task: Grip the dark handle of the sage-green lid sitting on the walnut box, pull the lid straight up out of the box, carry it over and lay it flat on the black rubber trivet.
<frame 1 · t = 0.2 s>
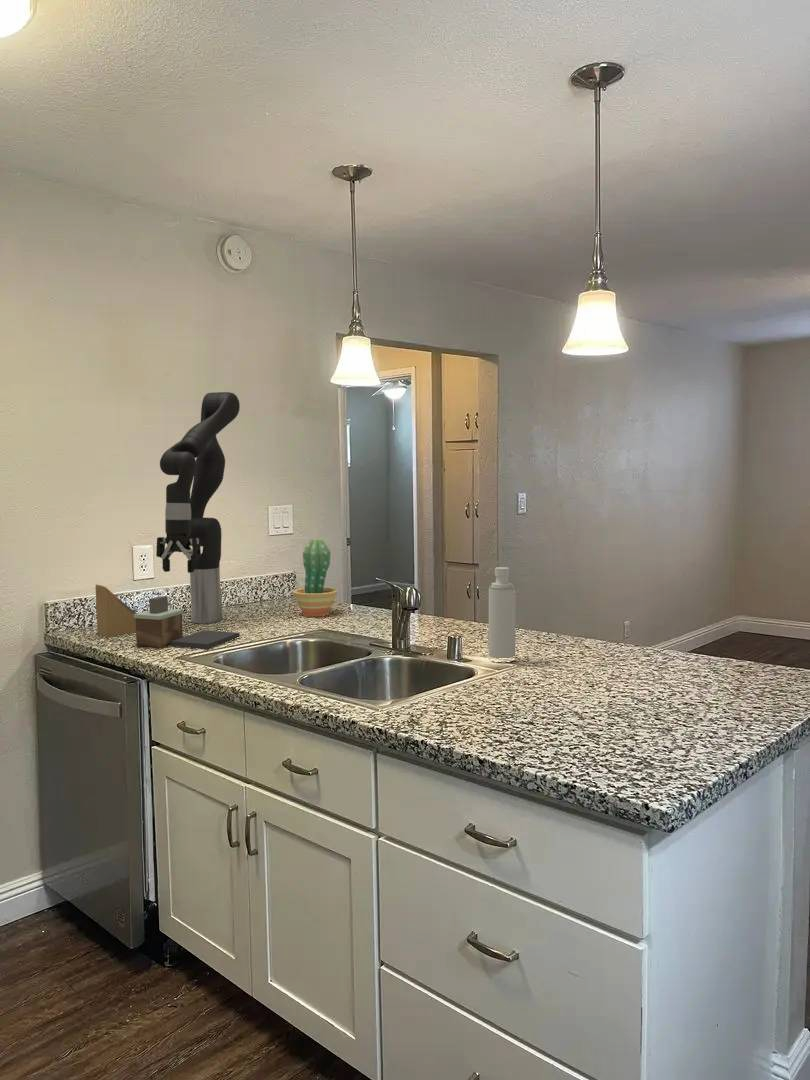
hand: (178, 572, 246), 18 cm above the worktop, tool pointing down, fingers open, 8 cm apart
potted cactus: (315, 614, 273), on the worktop
magazine file holder: (127, 633, 246), on the worktop
grey bottle: (501, 660, 206), on the worktop
trivet: (205, 642, 230), on the worktop
walnut box: (160, 643, 228), on the worktop
lid: (159, 615, 228), point 8 cm above the worktop, touching walnut box
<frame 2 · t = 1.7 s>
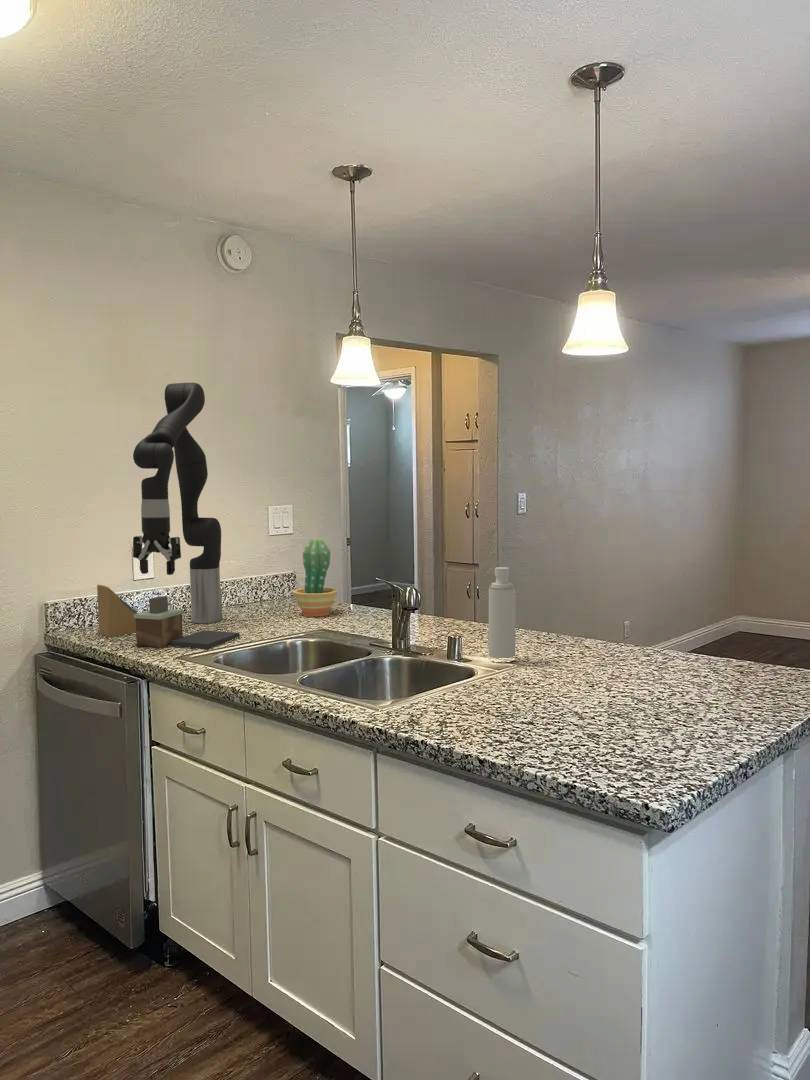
hand: (157, 574, 227), 20 cm above the worktop, tool pointing down, fingers open, 8 cm apart
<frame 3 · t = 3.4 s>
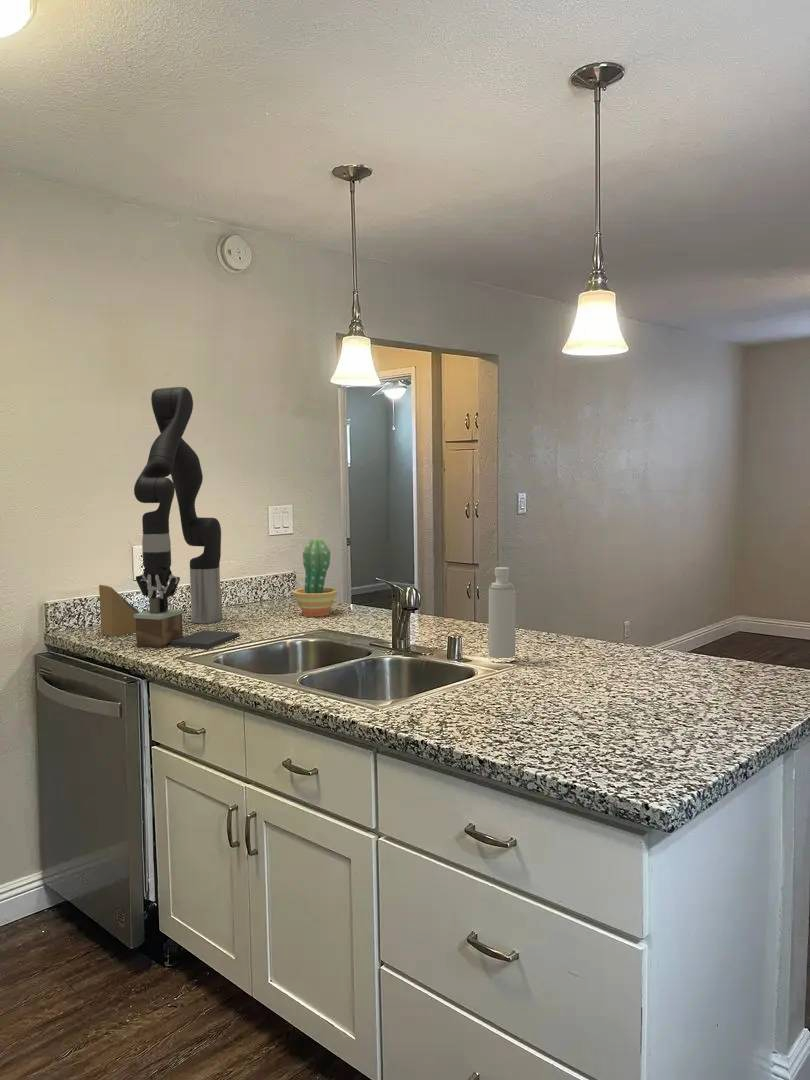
hand: (158, 611, 228), 9 cm above the worktop, tool pointing down, fingers closed on lid, 2 cm apart
lid: (159, 615, 228), point 8 cm above the worktop, touching gripper, walnut box
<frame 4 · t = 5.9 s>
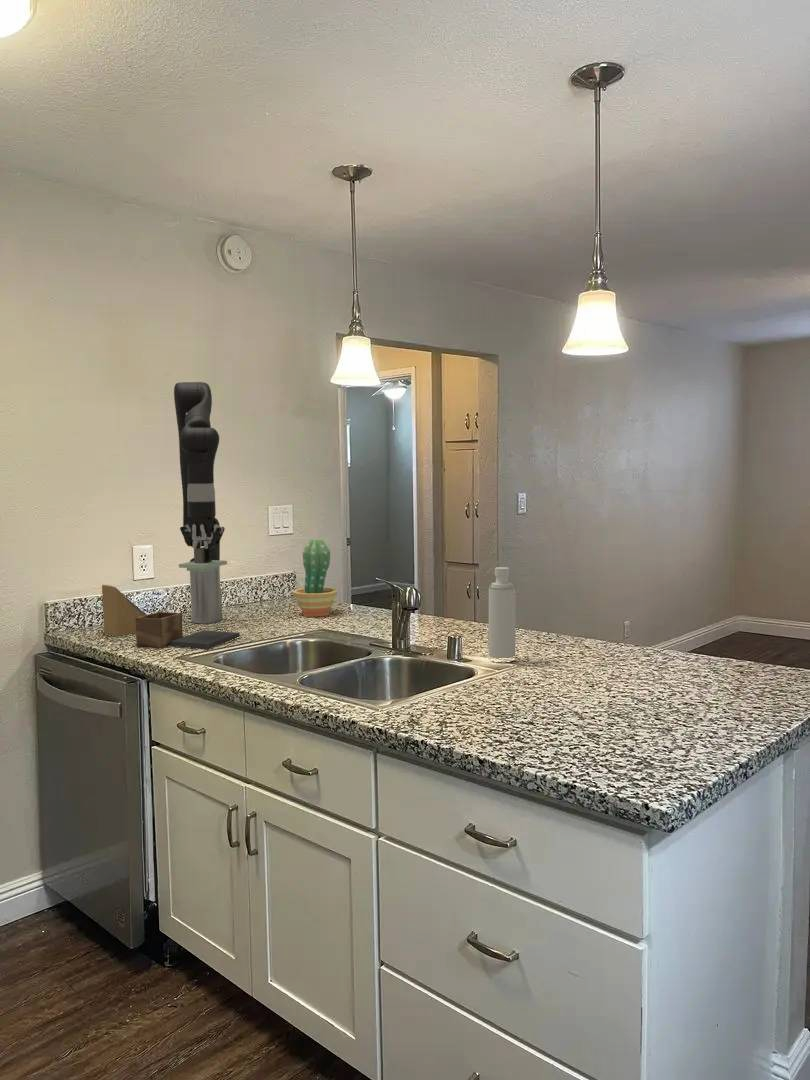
hand: (203, 561, 228), 23 cm above the worktop, tool pointing down, fingers closed on lid, 2 cm apart
lid: (203, 565, 228), point 22 cm above the worktop, touching gripper
when the fingers open (5 cm above the worktop, at t = 8.8 s): lid drops 1 cm, resting on trivet.
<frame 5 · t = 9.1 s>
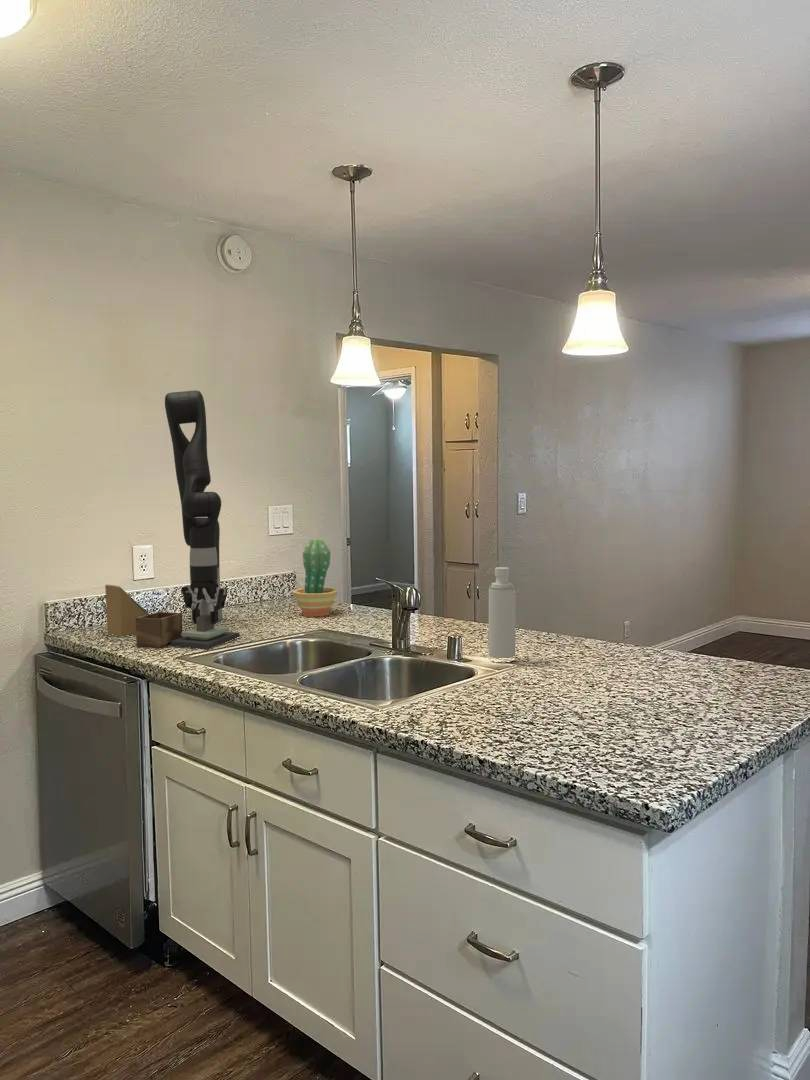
hand: (205, 623, 230), 5 cm above the worktop, tool pointing down, fingers open, 5 cm apart
lid: (205, 633, 230), point 2 cm above the worktop, touching trivet
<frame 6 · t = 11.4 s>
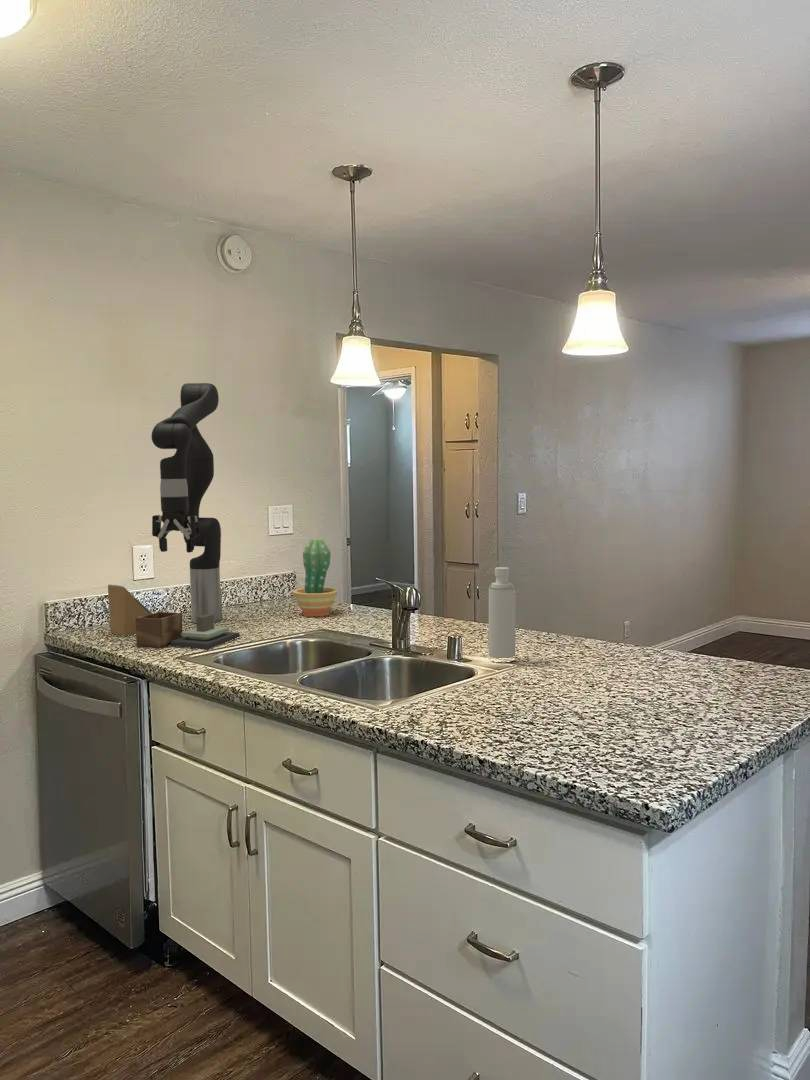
hand: (176, 551, 233), 25 cm above the worktop, tool pointing down, fingers open, 8 cm apart
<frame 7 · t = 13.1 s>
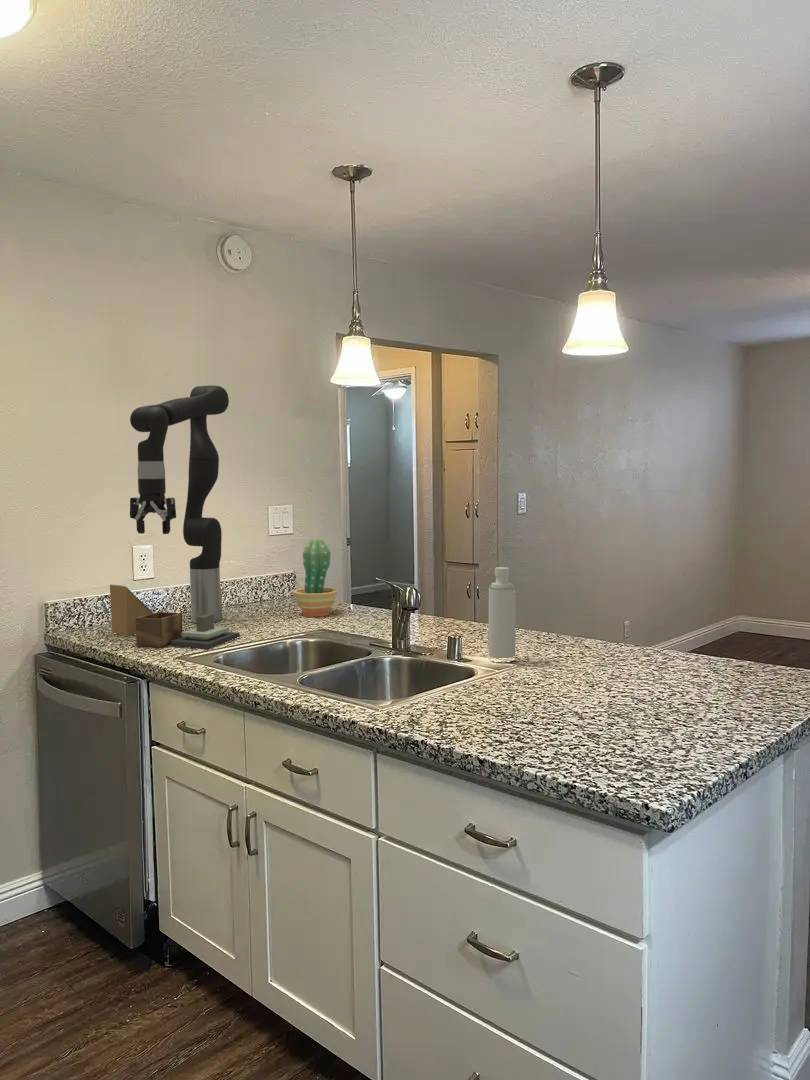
hand: (153, 533, 236), 30 cm above the worktop, tool pointing down, fingers open, 8 cm apart
at the end: lid inside the target area on the trivet (0.1 cm from its centre), point 2.5 cm above the trivet's base; lid tilted 0°; lid touching trivet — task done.
